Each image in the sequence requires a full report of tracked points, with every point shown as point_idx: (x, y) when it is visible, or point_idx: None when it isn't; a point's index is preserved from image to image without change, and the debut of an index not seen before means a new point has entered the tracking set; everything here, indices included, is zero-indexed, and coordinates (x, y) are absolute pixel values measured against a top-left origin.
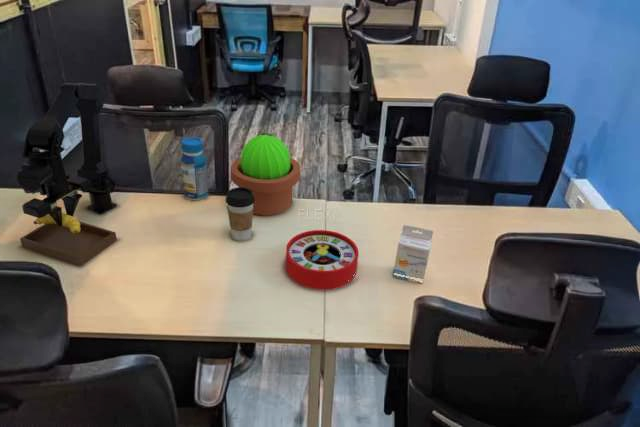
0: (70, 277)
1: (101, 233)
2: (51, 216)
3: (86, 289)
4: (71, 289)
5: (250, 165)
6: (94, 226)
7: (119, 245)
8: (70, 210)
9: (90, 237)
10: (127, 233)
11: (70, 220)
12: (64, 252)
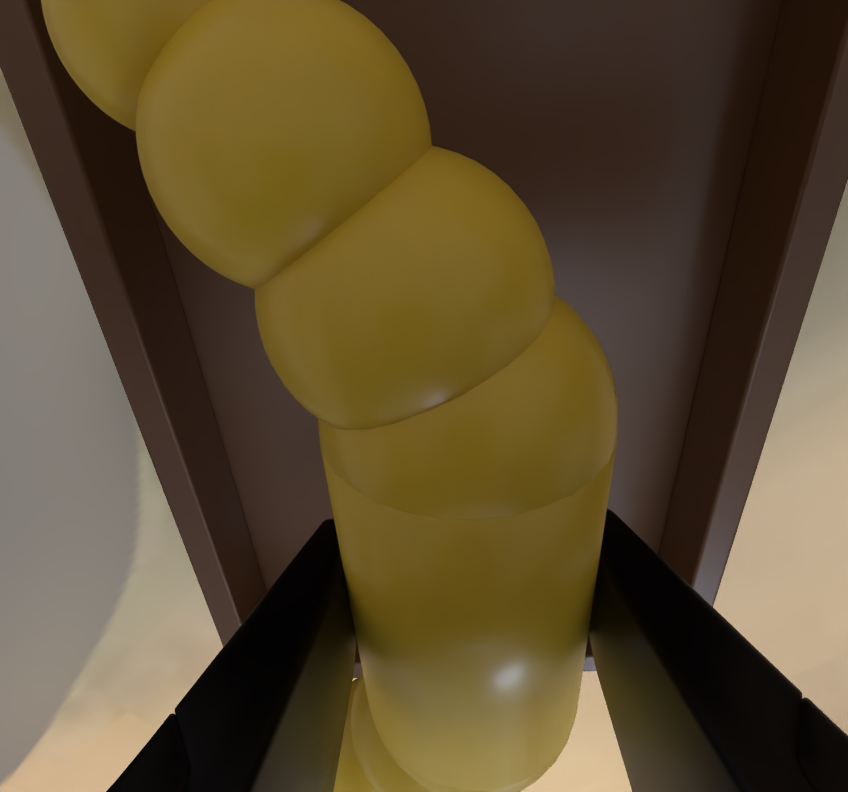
0: (138, 627)
1: (678, 529)
2: (171, 729)
3: (146, 734)
4: (80, 691)
5: None
6: (742, 482)
7: None
8: (648, 782)
9: None
10: (786, 593)
11: (422, 785)
12: (205, 565)
